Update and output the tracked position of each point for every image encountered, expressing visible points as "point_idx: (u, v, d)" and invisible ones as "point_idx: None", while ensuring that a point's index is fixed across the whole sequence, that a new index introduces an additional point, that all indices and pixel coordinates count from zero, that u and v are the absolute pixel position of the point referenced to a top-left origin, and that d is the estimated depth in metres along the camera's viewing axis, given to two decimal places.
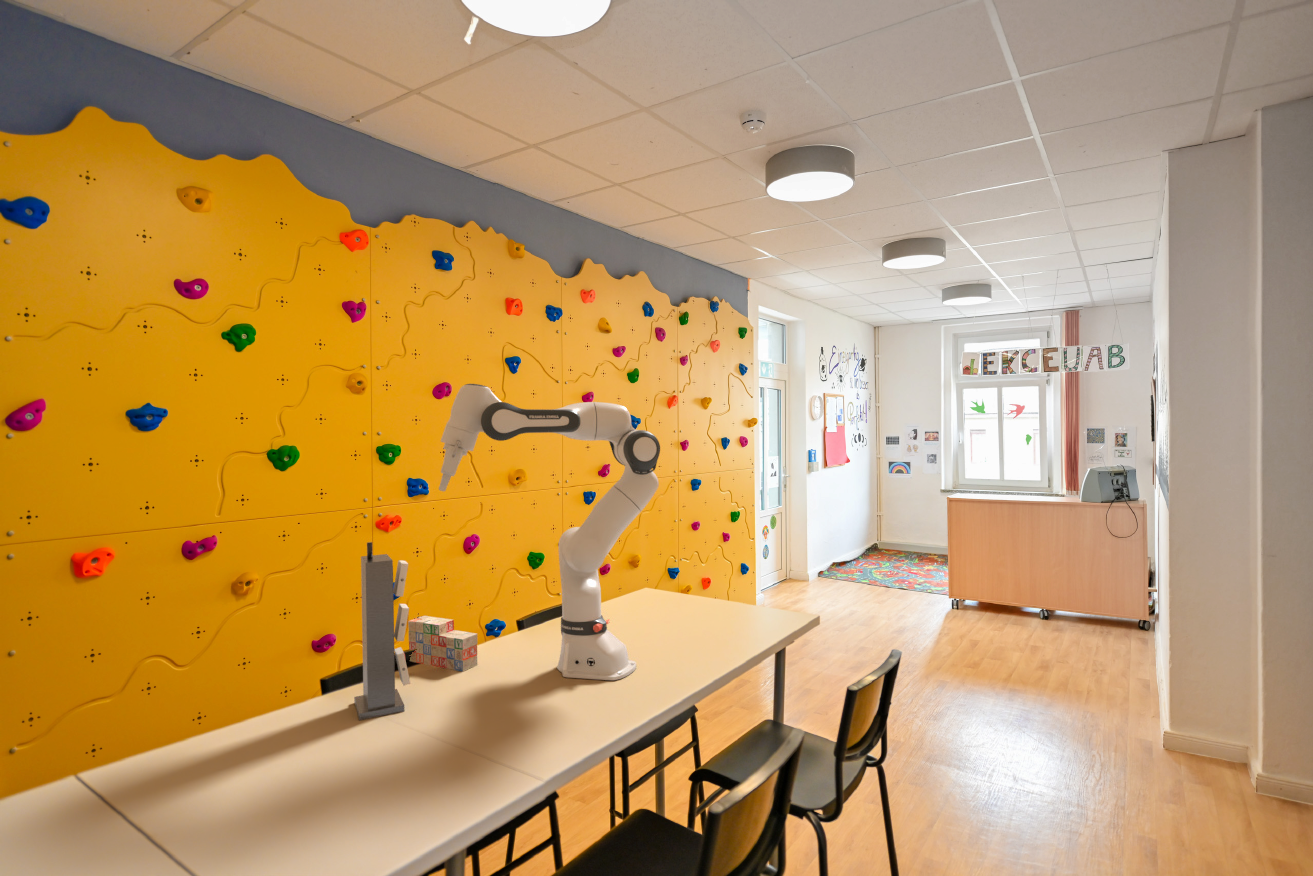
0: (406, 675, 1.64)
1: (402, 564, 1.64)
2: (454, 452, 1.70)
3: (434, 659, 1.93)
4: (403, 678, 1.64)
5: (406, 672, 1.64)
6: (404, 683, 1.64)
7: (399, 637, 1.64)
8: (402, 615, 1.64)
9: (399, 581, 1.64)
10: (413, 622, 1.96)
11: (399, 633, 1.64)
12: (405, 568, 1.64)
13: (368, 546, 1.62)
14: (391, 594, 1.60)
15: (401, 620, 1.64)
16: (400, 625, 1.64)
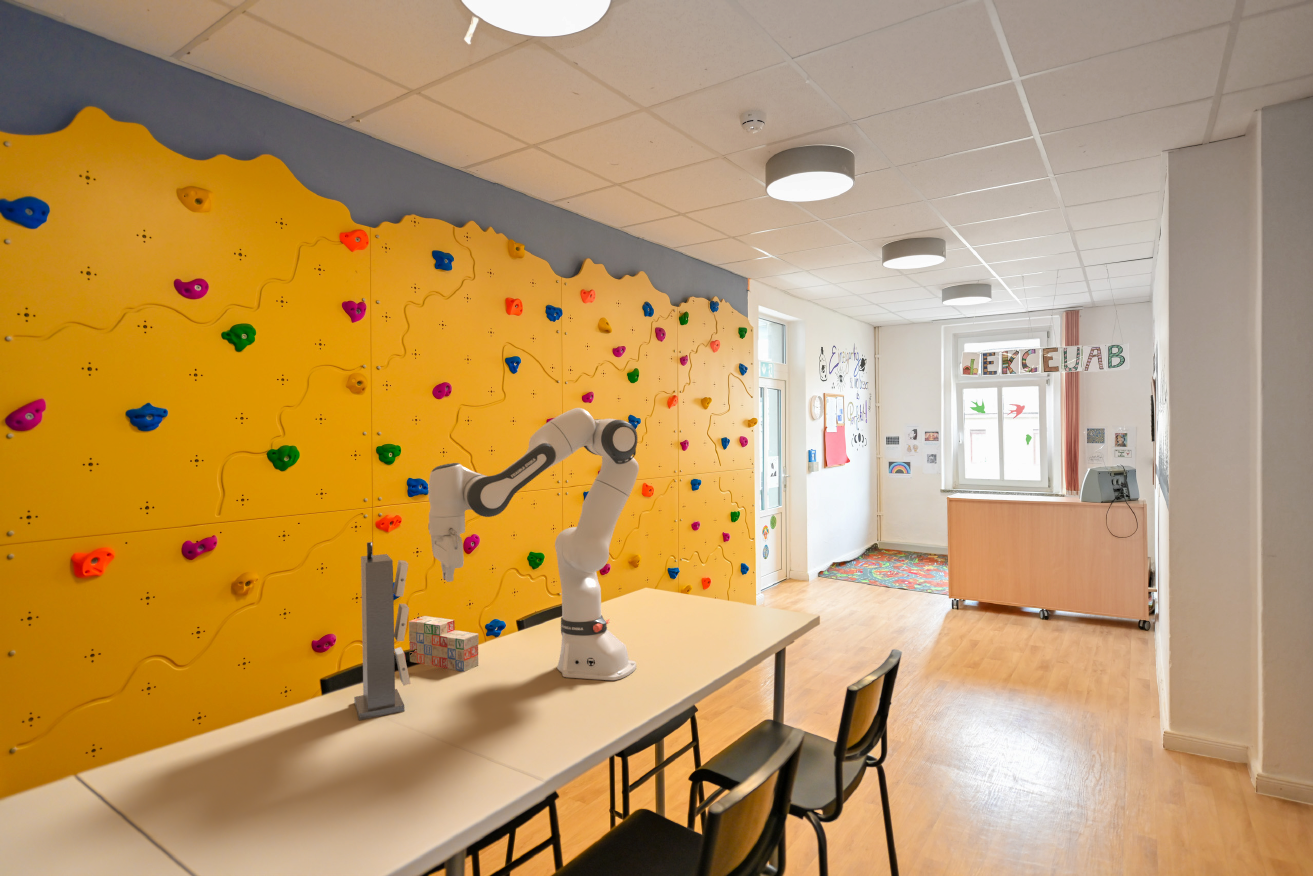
0: (406, 675, 1.64)
1: (402, 564, 1.64)
2: (456, 544, 1.63)
3: (435, 659, 1.92)
4: (403, 678, 1.64)
5: (406, 672, 1.64)
6: (404, 683, 1.64)
7: (399, 637, 1.64)
8: (402, 615, 1.64)
9: (399, 581, 1.64)
10: (414, 622, 1.96)
11: (399, 633, 1.64)
12: (405, 568, 1.64)
13: (368, 546, 1.62)
14: (391, 594, 1.60)
15: (401, 620, 1.64)
16: (400, 625, 1.64)
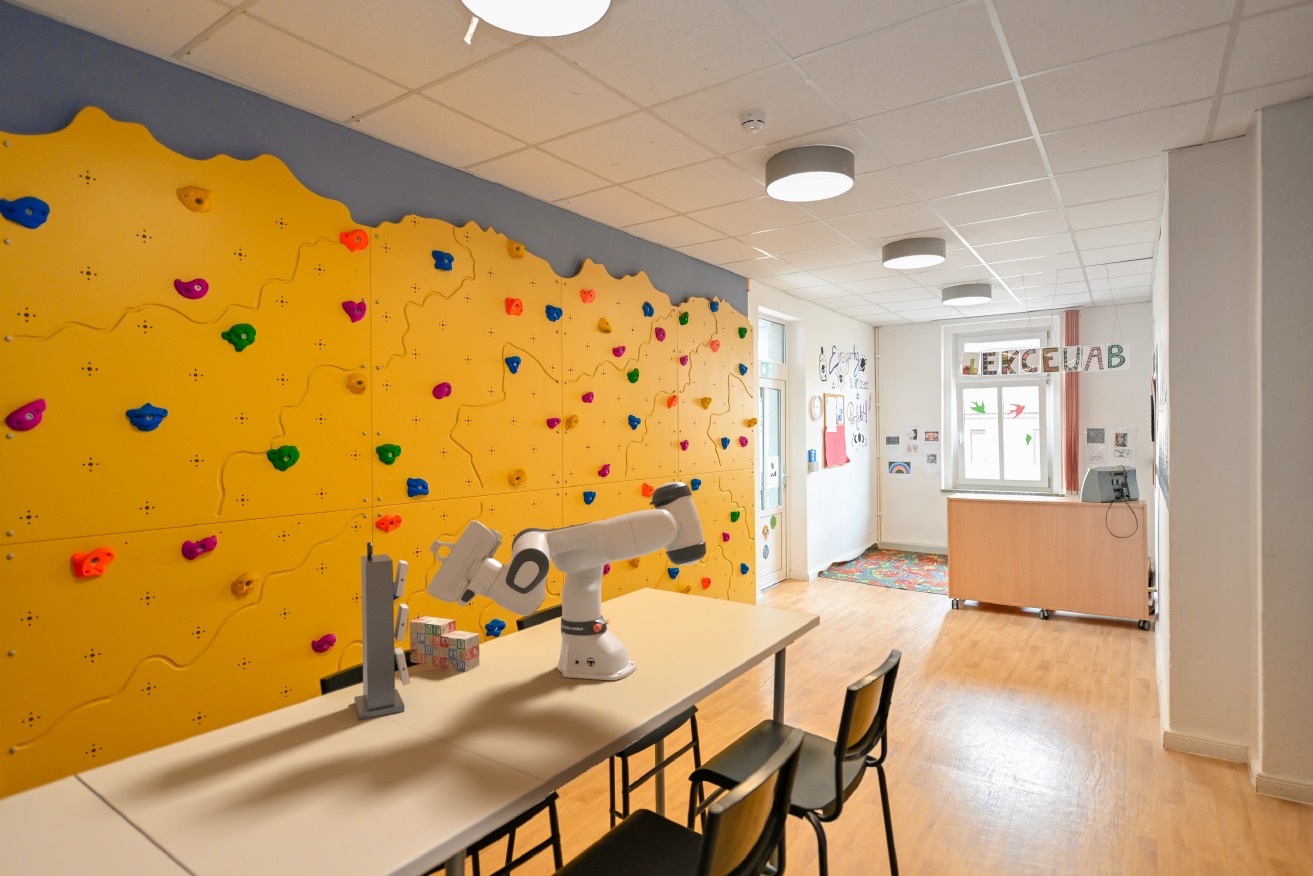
0: (406, 675, 1.64)
1: (402, 564, 1.64)
2: (494, 530, 1.65)
3: (436, 659, 1.92)
4: (403, 678, 1.64)
5: (406, 672, 1.64)
6: (404, 683, 1.64)
7: (399, 637, 1.64)
8: (402, 615, 1.64)
9: (399, 581, 1.64)
10: (414, 622, 1.96)
11: (399, 633, 1.64)
12: (405, 568, 1.64)
13: (368, 546, 1.62)
14: (391, 594, 1.60)
15: (401, 620, 1.64)
16: (400, 625, 1.64)
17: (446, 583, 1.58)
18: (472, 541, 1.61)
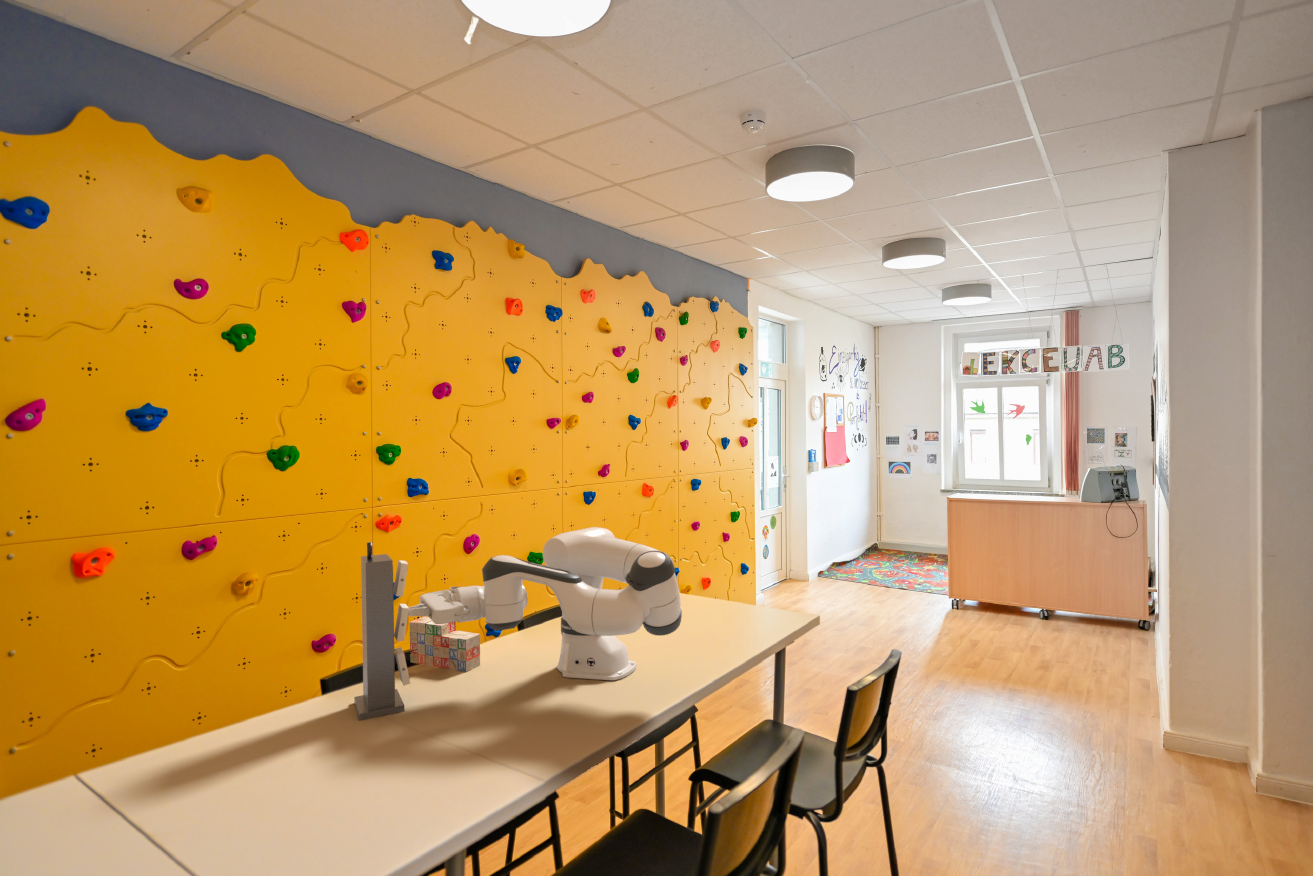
0: (406, 675, 1.64)
1: (402, 564, 1.64)
2: (460, 614, 1.63)
3: (436, 659, 1.92)
4: (403, 678, 1.64)
5: (406, 672, 1.64)
6: (404, 683, 1.64)
7: (399, 637, 1.64)
8: (402, 615, 1.64)
9: (399, 581, 1.64)
10: (414, 623, 1.95)
11: (399, 633, 1.64)
12: (405, 568, 1.64)
13: (368, 546, 1.62)
14: (391, 594, 1.60)
15: (401, 620, 1.64)
16: (400, 625, 1.64)
17: None
18: None
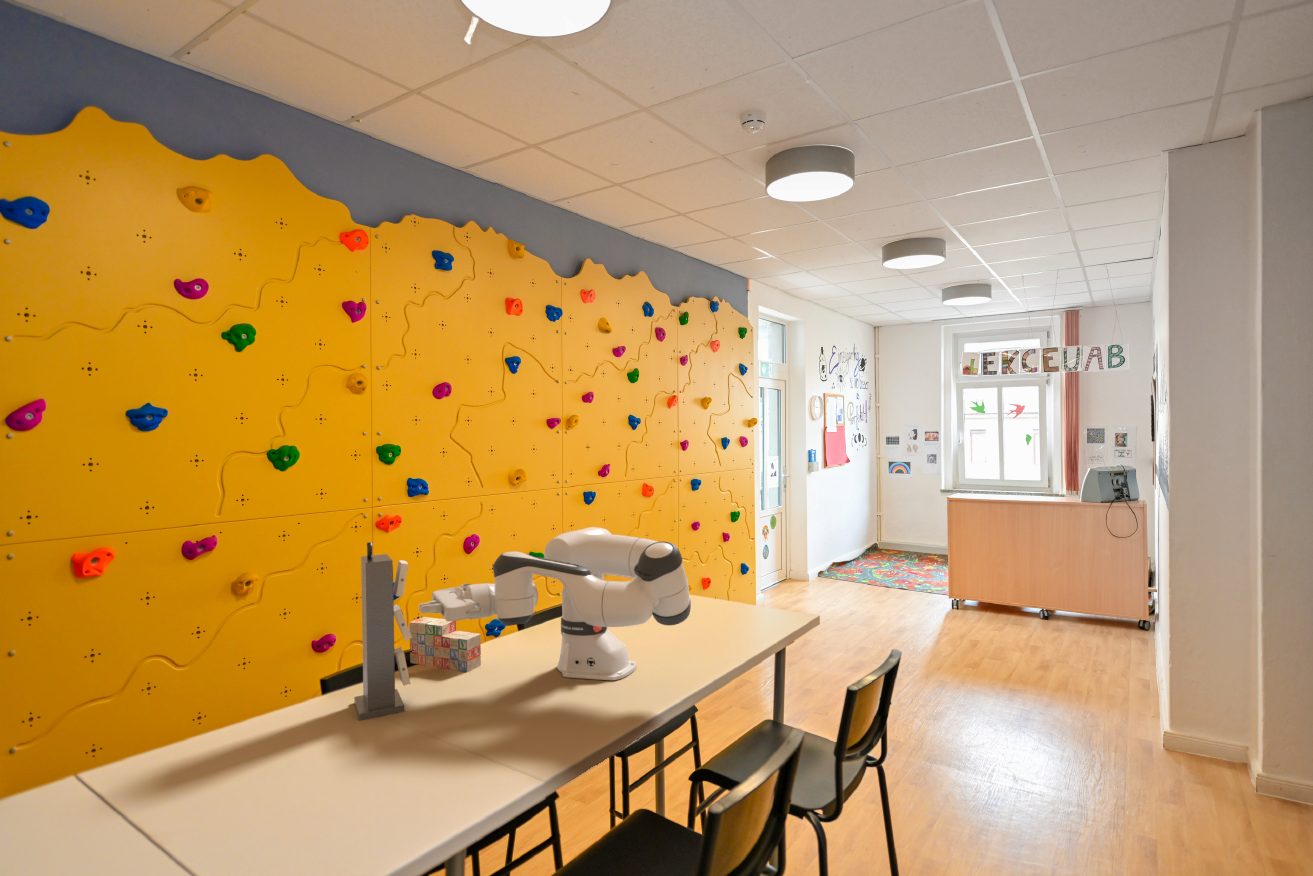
0: (406, 675, 1.64)
1: (402, 564, 1.64)
2: (472, 612, 1.65)
3: (437, 660, 1.92)
4: (403, 678, 1.64)
5: (406, 672, 1.64)
6: (404, 683, 1.64)
7: (406, 636, 1.64)
8: (397, 617, 1.64)
9: (399, 581, 1.64)
10: (414, 623, 1.95)
11: (404, 633, 1.64)
12: (405, 568, 1.64)
13: (368, 546, 1.62)
14: (391, 594, 1.60)
15: (399, 622, 1.64)
16: (401, 626, 1.64)
17: None
18: None
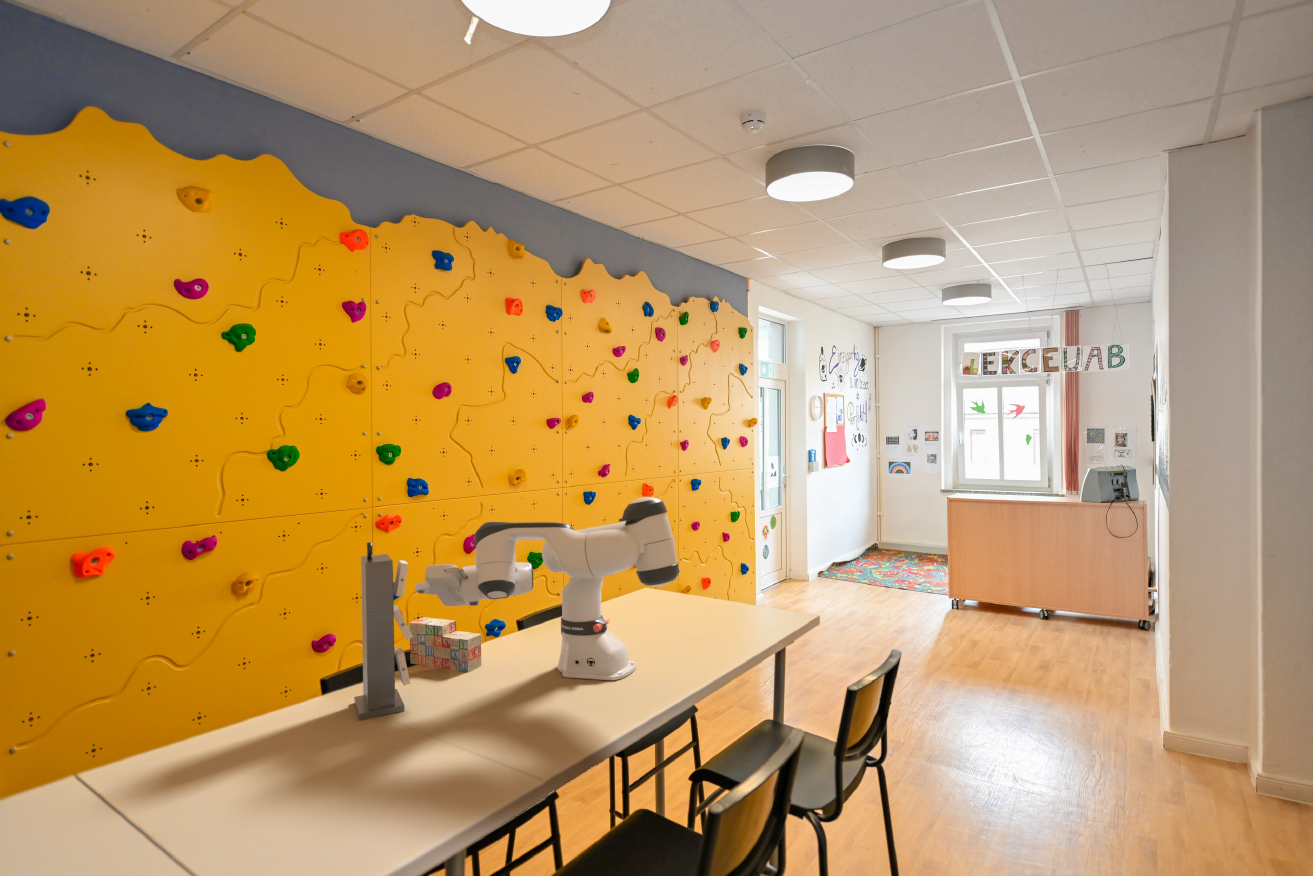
0: (406, 675, 1.64)
1: (402, 564, 1.64)
2: (448, 568, 1.64)
3: (437, 660, 1.91)
4: (403, 678, 1.64)
5: (406, 672, 1.64)
6: (404, 683, 1.64)
7: (407, 636, 1.65)
8: (397, 617, 1.63)
9: (399, 581, 1.64)
10: (414, 624, 1.95)
11: (404, 633, 1.64)
12: (405, 568, 1.64)
13: (368, 546, 1.62)
14: (391, 594, 1.60)
15: (399, 622, 1.64)
16: (401, 626, 1.64)
17: (452, 600, 1.77)
18: (440, 584, 1.67)
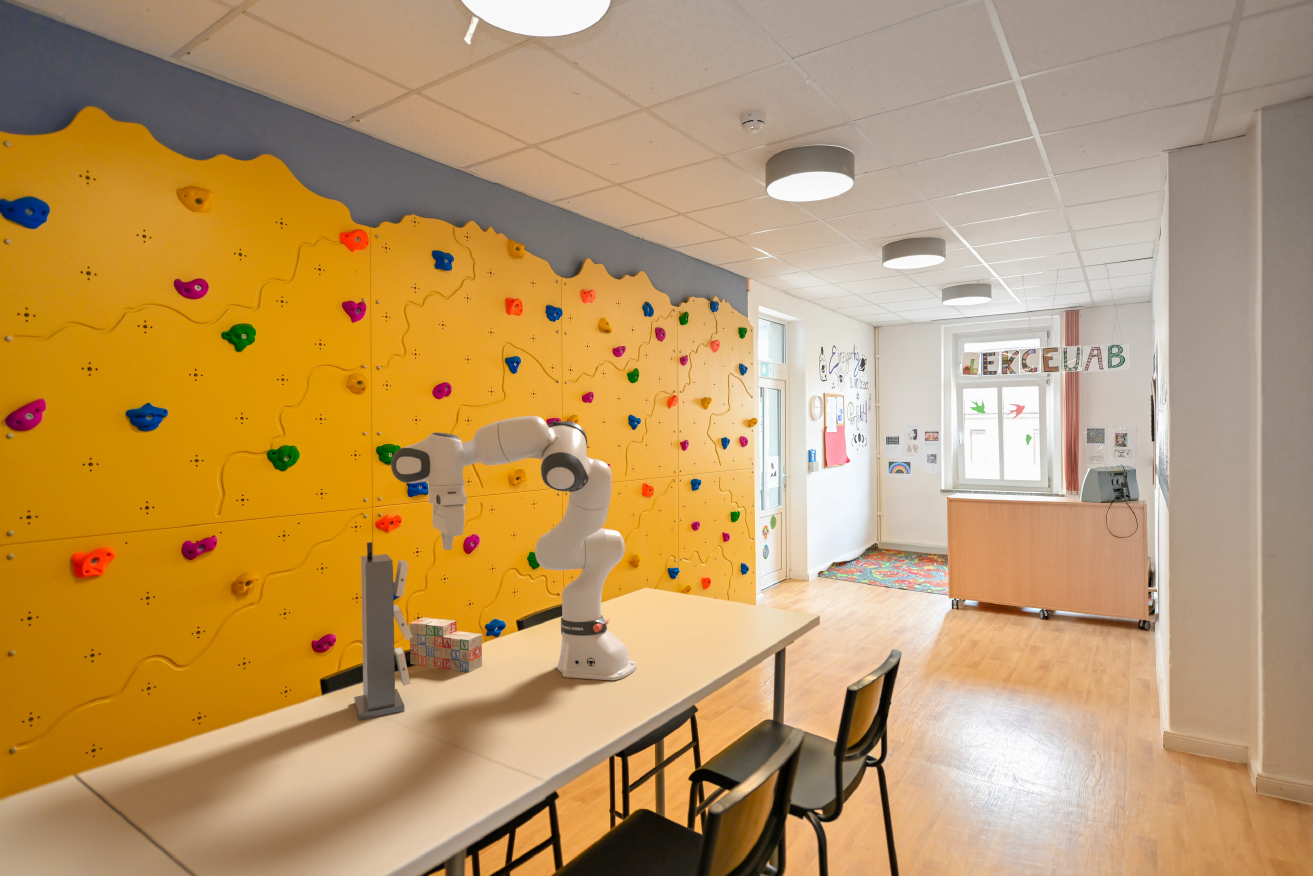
0: (406, 675, 1.64)
1: (402, 564, 1.64)
2: None
3: (438, 660, 1.91)
4: (403, 678, 1.64)
5: (406, 672, 1.64)
6: (404, 683, 1.64)
7: (407, 636, 1.65)
8: (397, 617, 1.63)
9: (399, 581, 1.64)
10: (415, 624, 1.94)
11: (404, 633, 1.64)
12: (405, 568, 1.64)
13: (368, 546, 1.62)
14: (391, 594, 1.60)
15: (399, 622, 1.64)
16: (401, 626, 1.64)
17: (445, 522, 1.66)
18: (435, 518, 1.76)
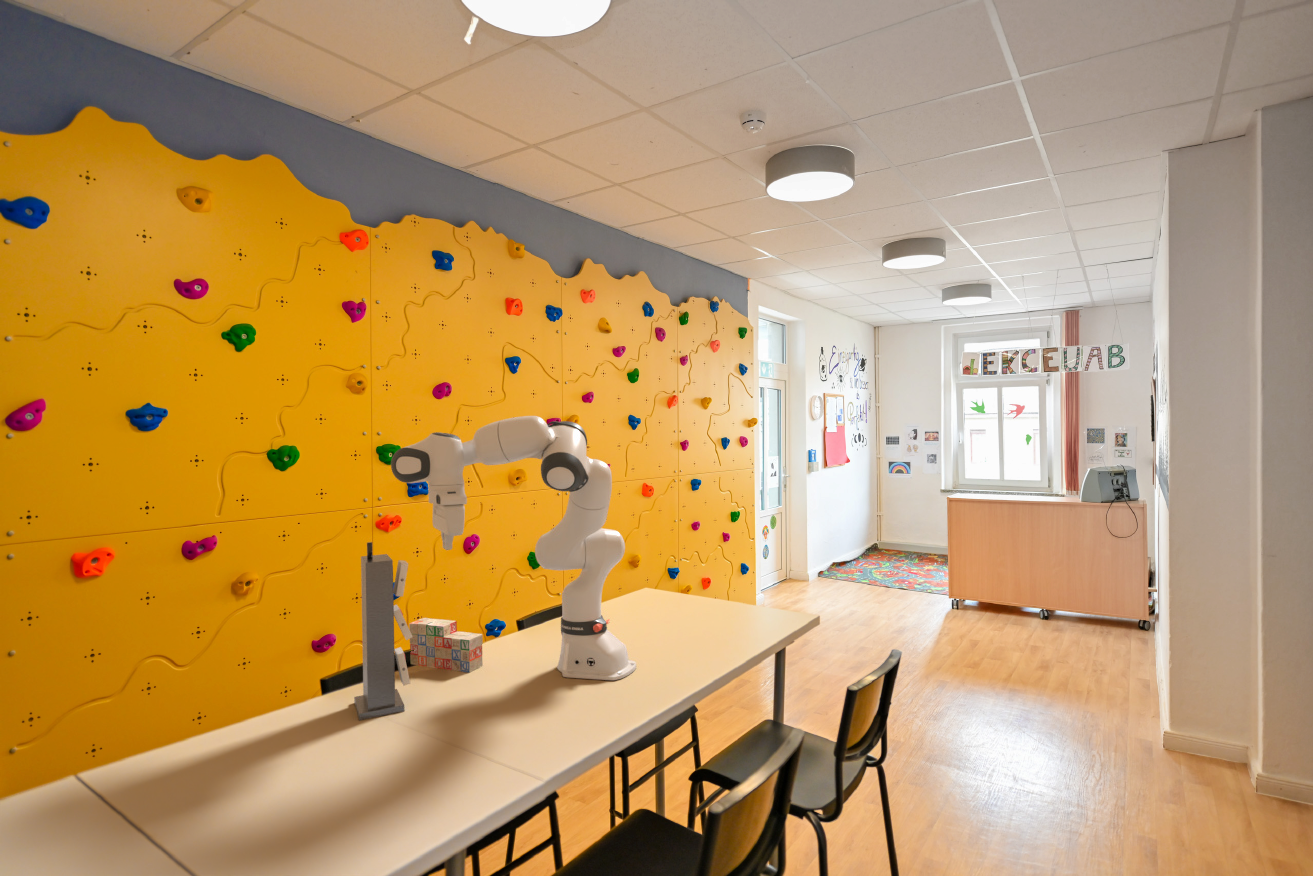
0: (406, 675, 1.64)
1: (402, 564, 1.64)
2: None
3: (438, 661, 1.91)
4: (403, 678, 1.64)
5: (406, 672, 1.64)
6: (404, 683, 1.64)
7: (406, 636, 1.65)
8: (397, 617, 1.63)
9: (399, 581, 1.64)
10: (415, 624, 1.94)
11: (404, 633, 1.64)
12: (405, 568, 1.64)
13: (368, 546, 1.62)
14: (391, 594, 1.60)
15: (399, 622, 1.64)
16: (401, 626, 1.64)
17: (444, 522, 1.66)
18: (435, 518, 1.76)
